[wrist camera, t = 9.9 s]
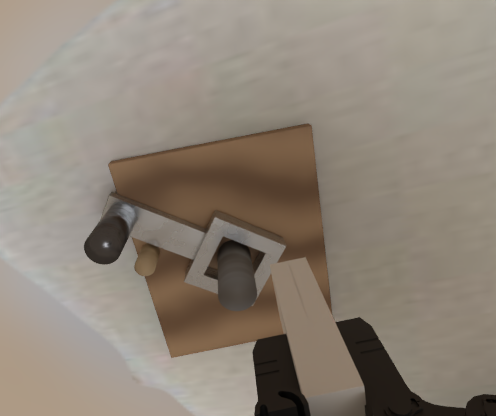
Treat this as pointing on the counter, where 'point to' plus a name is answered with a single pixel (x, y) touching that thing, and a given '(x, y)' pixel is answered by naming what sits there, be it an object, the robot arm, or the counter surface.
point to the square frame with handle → (180, 239)
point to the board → (228, 251)
